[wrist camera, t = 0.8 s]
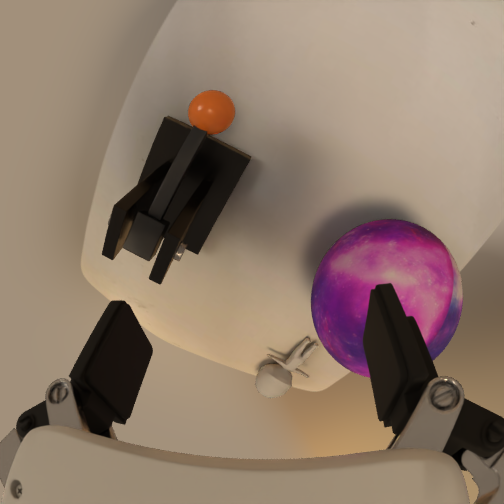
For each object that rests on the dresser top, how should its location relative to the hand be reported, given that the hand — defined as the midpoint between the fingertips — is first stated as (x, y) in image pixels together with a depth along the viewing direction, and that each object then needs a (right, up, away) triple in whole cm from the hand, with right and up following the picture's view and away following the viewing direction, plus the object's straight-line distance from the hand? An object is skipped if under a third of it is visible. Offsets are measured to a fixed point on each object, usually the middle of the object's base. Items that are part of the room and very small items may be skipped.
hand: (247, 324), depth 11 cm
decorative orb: (+14, +2, +21) cm, 25 cm away
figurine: (+9, -10, +29) cm, 31 cm away
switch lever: (-5, +9, +10) cm, 15 cm away
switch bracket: (-7, +9, +18) cm, 21 cm away
